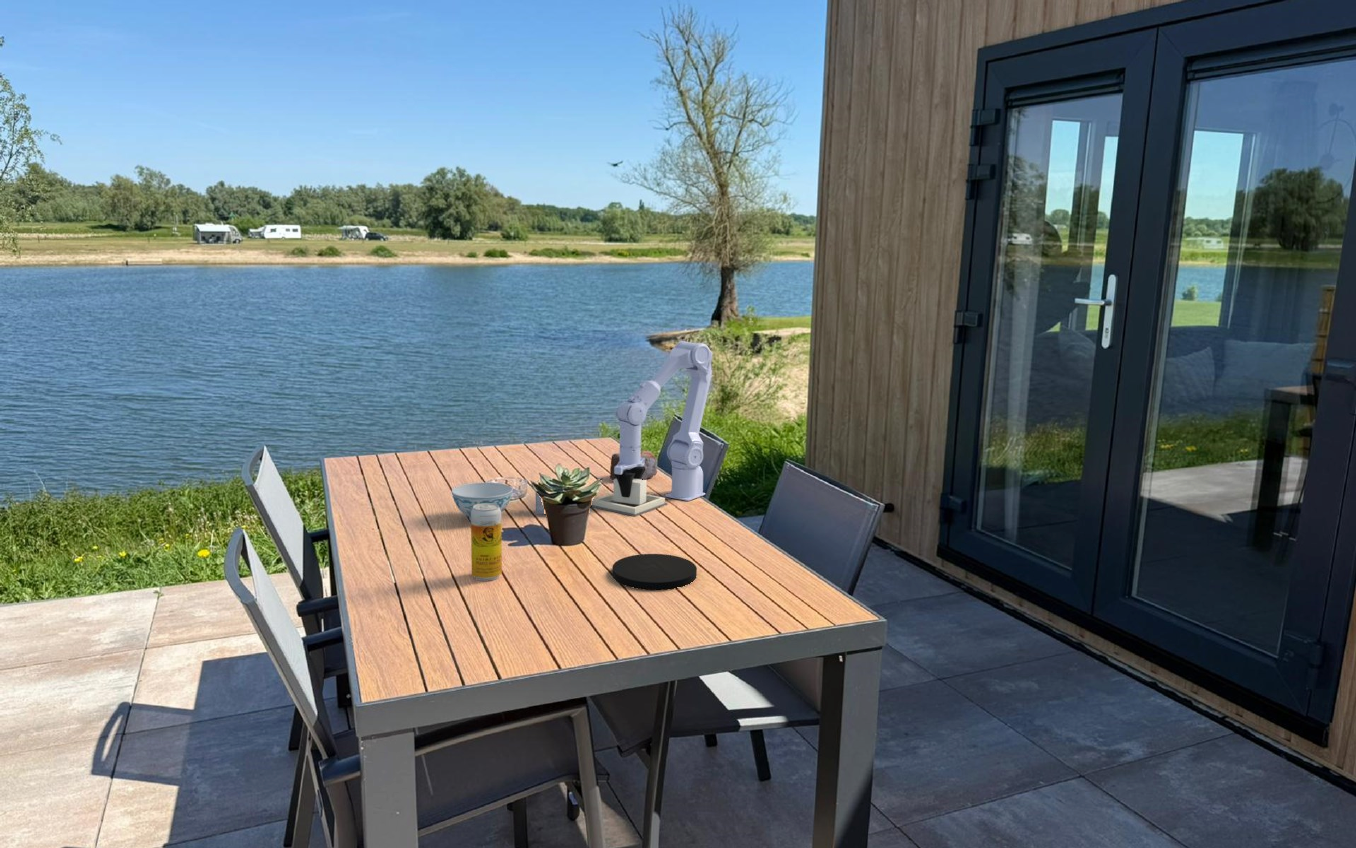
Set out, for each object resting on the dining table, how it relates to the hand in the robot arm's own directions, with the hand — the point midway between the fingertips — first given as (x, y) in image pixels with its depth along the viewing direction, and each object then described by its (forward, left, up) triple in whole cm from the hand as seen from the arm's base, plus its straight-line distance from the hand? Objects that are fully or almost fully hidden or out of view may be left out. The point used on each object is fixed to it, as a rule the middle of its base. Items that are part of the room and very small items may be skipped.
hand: (629, 495), depth 234 cm
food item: (-26, -17, -3) cm, 31 cm away
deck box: (0, 0, -2) cm, 2 cm away
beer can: (+63, +9, -3) cm, 63 cm away
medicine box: (+19, -12, -3) cm, 22 cm away
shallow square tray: (0, 0, -3) cm, 3 cm away
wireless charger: (+41, +36, -4) cm, 55 cm away
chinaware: (+34, -22, -3) cm, 40 cm away
